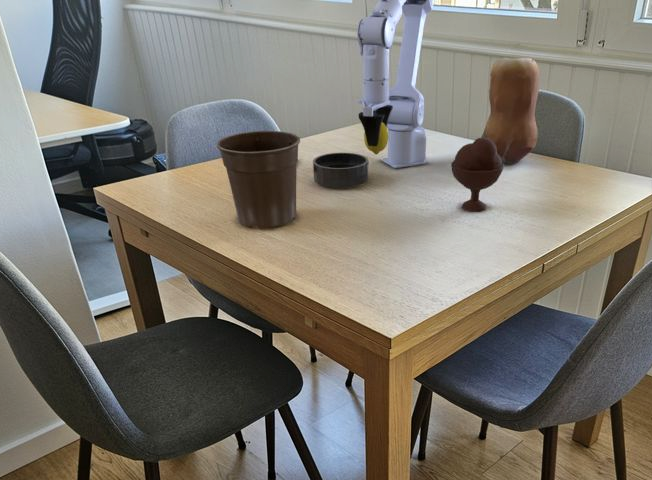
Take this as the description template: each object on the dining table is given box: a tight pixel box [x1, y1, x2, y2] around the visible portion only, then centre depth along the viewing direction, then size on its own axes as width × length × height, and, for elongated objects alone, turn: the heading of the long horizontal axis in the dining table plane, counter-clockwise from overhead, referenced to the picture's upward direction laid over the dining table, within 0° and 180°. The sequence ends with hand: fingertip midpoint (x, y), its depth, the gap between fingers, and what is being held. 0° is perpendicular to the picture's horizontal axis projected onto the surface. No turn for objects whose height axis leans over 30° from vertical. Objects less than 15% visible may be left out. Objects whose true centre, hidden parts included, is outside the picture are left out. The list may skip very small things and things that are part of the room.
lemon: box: [363, 122, 388, 155], centre depth 142 cm, size 6×6×8 cm
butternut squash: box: [483, 57, 540, 164], centre depth 155 cm, size 14×13×25 cm
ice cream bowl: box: [450, 137, 505, 213], centre depth 130 cm, size 11×11×15 cm
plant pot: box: [216, 130, 301, 229], centre depth 126 cm, size 16×16×16 cm
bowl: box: [312, 152, 370, 189], centre depth 149 cm, size 13×13×5 cm
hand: (376, 142), depth 143 cm, fingers closed on lemon, 5 cm apart
